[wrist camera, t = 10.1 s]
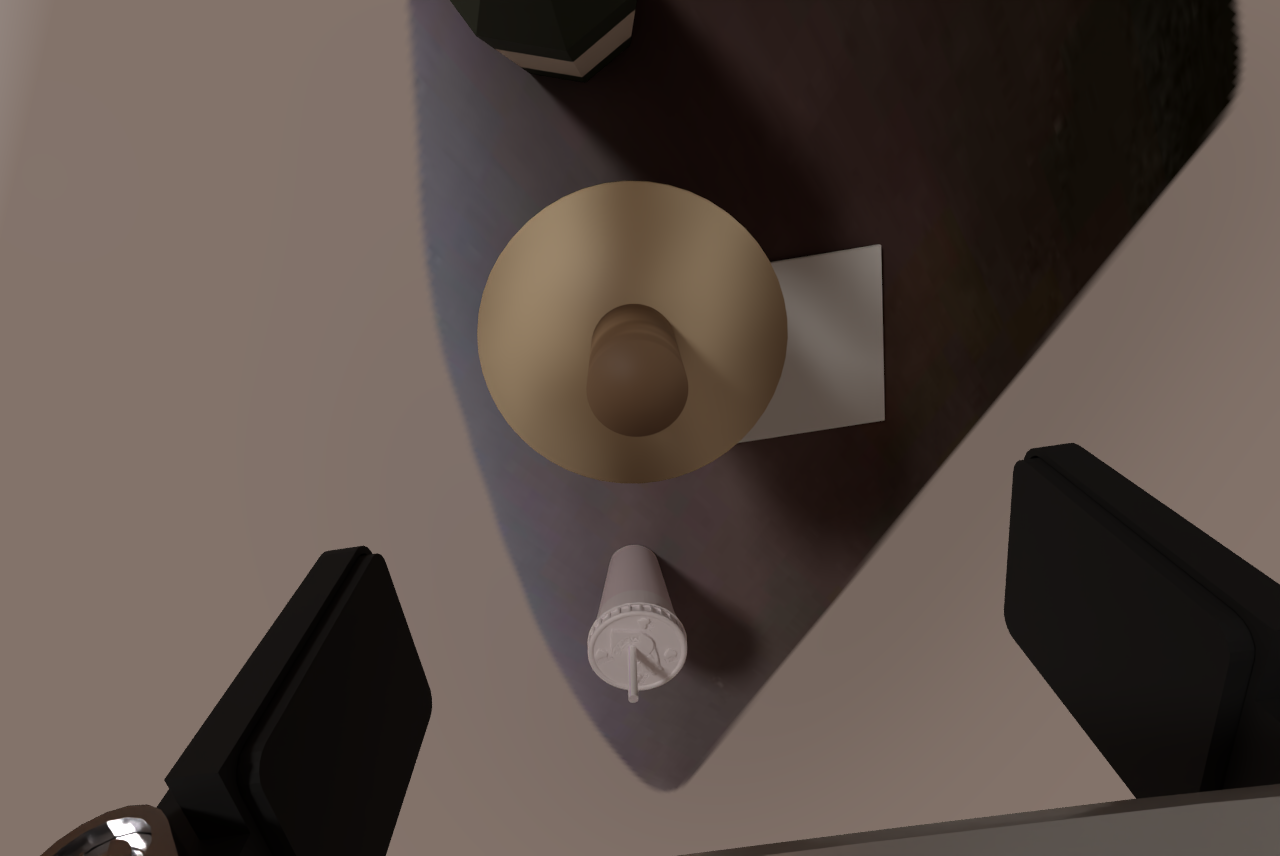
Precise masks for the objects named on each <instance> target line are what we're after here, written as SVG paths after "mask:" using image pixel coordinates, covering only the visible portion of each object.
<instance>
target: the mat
mask: <svg viewBox="0 0 1280 856" xmlns="http://www.w3.org/2000/svg"><path fill="white" fill-rule="evenodd" d="M770 263H771V265H772V267H773V269H774V272H775V274H776V276H777V278H778V281H779V284H780V287H781V290H782V294H783V297H784V301H785V308H786V314H787V328H788V340H787V349H786V358H785V362H784V366H783V370H782V374H781V378H780V380H779V383H778V385H777V388H776V390H775V393H774V395H773V397H772V399H771V401H770V403H769V404H768V406H767V408H766V410H765V412H764V413H763V414H762V416H761V417H760V418H759V420H758V421H757V423H756V424H755V425H754V427H753V428H752V429H751V430H750V431H749V432H748V433H747V434H746V435H745V436H744V437H743V439H742V440H741V441H739V442H738V443H741V442H747V441H754V440H760V439H767V438H773V437H780V436H786V435H793V434H799V433H806V432H812V431H819V430H825V429H832V428H838V427H845V426H851V425H858V424H864V423H871V422H877V421H884V420H885V407H884V358H883V309H882V261H881V245H872V246H866V247H860V248H854V249H848V250H841V251H835V252H829V253H823V254H817V255H811V256H804V257H798V258H792V259H786V260H780V261H773V262H770Z"/></svg>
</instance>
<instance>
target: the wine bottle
mask: <svg viewBox="0 0 1280 856" xmlns="http://www.w3.org/2000/svg"><path fill="white" fill-rule="evenodd" d="M450 1H451V2H452V4H453V5H454V6H455V8H456V9H457V10H458V12H459V13H460V15H461V16H462V17H463V19H464V20H465V21H466V23H467V24H468V25H469V27H470V28H471V30H472V31H473V32H474V34H475V35H476V36H477V37H479V38H480V39H481V40H483V41H484V42H486V43H487V44H489V45H490V46H491V47H493V48H494V49H496V50H497V51H499V52H500V53H501V54H503V55H504V56H506V57H507V58H509V59H510V60H511V61H513V62H514V63H516V64H517V65H519V66H520V67H521V68H523V69H524V70H526V71H527V72H529V73H531V74H537V75H543V76H549V77H555V78H561V79H567V80H573V81H579V82H587V81H588V80H589V79H590V78H591V77H593V76H594V75H595V74H596V73H597V72H599V71H600V70H601V69H602V68H603V67H605V66H606V65H607V64H608V63H609V62H611V61H612V60H613V59H614V58H615V57H616V56H618V55H619V54H620V53H621V52H622V51H624V50H625V49H626V48H627V47H628V46H630V41H631V35H632V28H633V22H634V15H635V9H636V3H637V0H450Z"/></svg>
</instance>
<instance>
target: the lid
mask: <svg viewBox="0 0 1280 856" xmlns="http://www.w3.org/2000/svg"><path fill="white" fill-rule="evenodd" d="M477 336H478V351H479V357H480V362H481V367H482V372H483V375H484V378H485V381H486V384H487V387H488V389H489V392H490V394H491V396H492V398H493V400H494V402H495V404H496V406H497V408H498V409H499V411H500V412H501V414H502V415H503V417H504V418H505V420H506V421H507V423H508V424H509V425H510V426H511V427H512V428H513V430H514V431H515V432H516V433H517V434H518V435H519V436H520V438H521V439H523V440H524V441H525V442H526V443H527V444H528V445H529V446H530V447H532V448H533V449H534V450H535V451H536V452H538V453H539V454H541V455H542V456H544V457H545V458H547V459H548V460H550V461H551V462H553V463H555V464H557V465H559V466H561V467H563V468H565V469H567V470H569V471H572V472H574V473H577V474H580V475H582V476H585V477H589V478H593V479H597V480H601V481H608V482H616V483H647V482H656V481H662V480H666V479H671V478H675V477H678V476H681V475H684V474H687V473H689V472H692V471H695V470H697V469H699V468H701V467H703V466H705V465H707V464H709V463H711V462H712V461H714V460H716V459H717V458H719V457H720V456H722V455H723V454H725V453H726V452H728V451H729V450H730V449H731V448H732V447H733V446H735V445H736V444H737V443H738V442H739V441H741V440H742V439H743V437H744V436H745V435H746V434H747V433H748V432H749V431H750V430H751V429H752V428H753V427H754V425H755V424H756V423H757V421H758V420H759V418H760V417H761V416H762V414H763V413H764V412H765V410H766V408H767V406H768V404H769V403H770V401H771V399H772V397H773V395H774V393H775V390H776V388H777V385H778V383H779V380H780V378H781V374H782V370H783V366H784V362H785V358H786V349H787V340H788V328H787V314H786V308H785V301H784V297H783V294H782V290H781V287H780V284H779V281H778V278H777V276H776V274H775V272H774V269H773V267H772V265H771V263H770V261H769V259H768V258H767V256H766V255H765V253H764V252H763V250H762V248H761V247H760V245H759V244H758V243H757V241H756V240H755V239H754V238H753V237H752V236H751V234H750V233H749V232H748V231H747V230H746V229H745V228H744V227H743V226H742V225H741V224H740V223H739V222H738V221H736V220H735V219H734V218H733V217H732V216H731V215H730V214H728V213H727V212H726V211H724V210H723V209H721V208H719V207H718V206H716V205H715V204H713V203H712V202H710V201H709V200H707V199H705V198H703V197H701V196H699V195H696V194H694V193H692V192H690V191H688V190H684V189H681V188H678V187H675V186H672V185H668V184H662V183H656V182H650V181H617V182H609V183H602V184H599V185H595V186H591V187H587V188H583V189H581V190H579V191H576V192H574V193H571V194H569V195H566V196H564V197H562V198H561V199H559V200H557V201H556V202H554V203H552V204H550V205H549V206H547V207H545V208H544V209H543V210H542V211H540V212H539V213H538V214H537V215H535V216H534V217H533V218H532V219H530V220H529V221H528V222H527V223H526V224H525V225H524V226H523V227H522V228H521V229H520V230H519V232H518V233H517V234H516V235H515V236H514V237H513V238H512V239H511V240H510V242H509V243H508V245H507V246H506V247H505V249H504V250H503V252H502V253H501V254H500V256H499V258H498V260H497V261H496V263H495V265H494V267H493V269H492V271H491V273H490V275H489V278H488V281H487V283H486V286H485V289H484V292H483V295H482V300H481V305H480V310H479V316H478V331H477Z"/></svg>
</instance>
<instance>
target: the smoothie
mask: <svg viewBox="0 0 1280 856" xmlns="http://www.w3.org/2000/svg"><path fill="white" fill-rule="evenodd" d="M587 644H588V658H589V662H590V665H591V667H592V668H593V670H594V671H595V673H596V674H597V675H598V676H599V677H600V678H601V679H602V680H604V681H605V682H607V683H608V684H610V685H612V686H615V687H617V688H621V689H625V690H628V695H629V701H630V702H632V703H635V702H637V701H638V690H647V689H652V688H655V687H658V686H660V685H663V684H665V683H666V682H668V681H670V680H671V679H672V678H673V677H674V676H676V675H677V673H678V672H679V671H680V670H681V668H682V667H683V665H684V663H685V660H686V656H687V634H686V632H685V629H684V627H683V624H682V623H681V622H680V620H679V619H678V618H677V617H676V615H675V612H674V610H673V606H672V603H671V600H670V597H669V594H668V591H667V588H666V585H665V581H664V578H663V575H662V572H661V569H660V566H659V563H658V560H657V557H656V555H655V554H654V553H653V552H652V551H651V550H650V549H648V548H646V547H644V546H641V545H628V546H625V547H622V548H620V549H619V550H617V551H616V552H615V553H614V555H613V556H612V558H611V560H610V564H609V569H608V573H607V577H606V582H605V586H604V590H603V595H602V599H601V603H600V608H599V612H598V615H597V620H596V621H595V622H594V624H593V626H592V628H591V629H590V631H589V636H588V641H587Z"/></svg>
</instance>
